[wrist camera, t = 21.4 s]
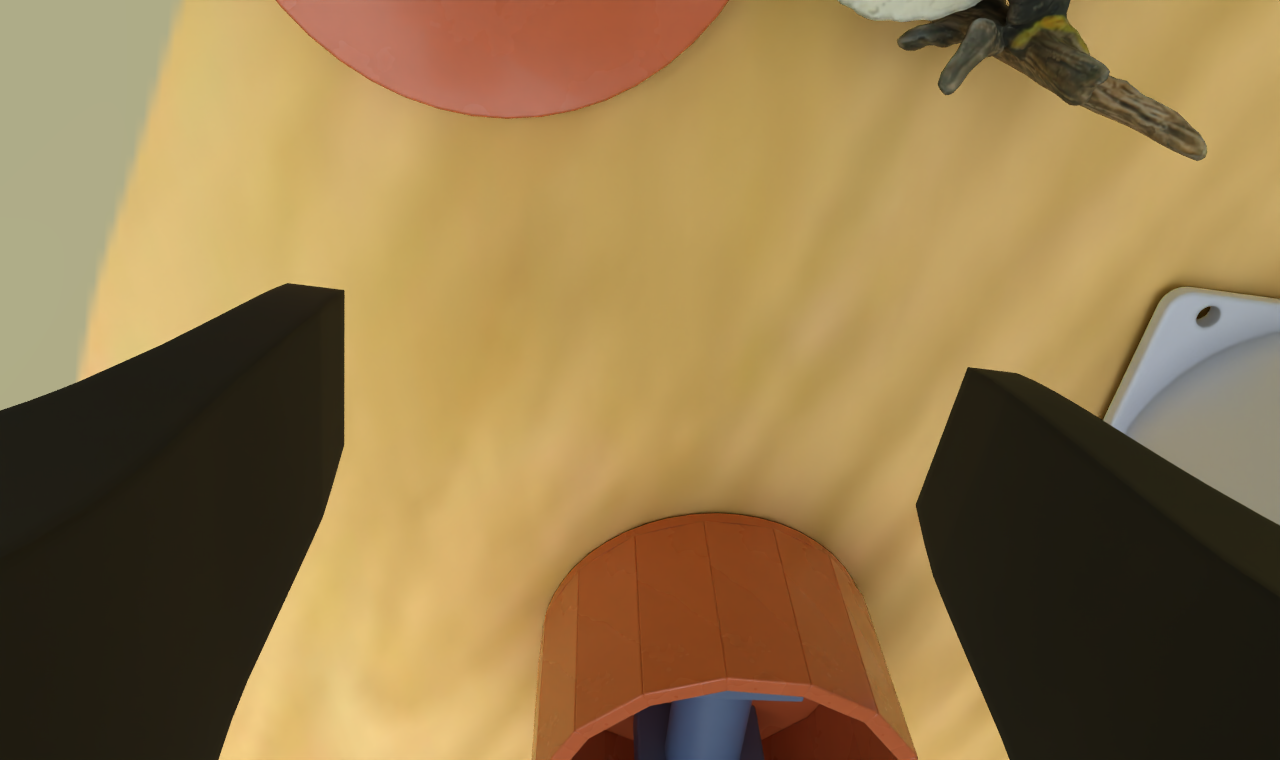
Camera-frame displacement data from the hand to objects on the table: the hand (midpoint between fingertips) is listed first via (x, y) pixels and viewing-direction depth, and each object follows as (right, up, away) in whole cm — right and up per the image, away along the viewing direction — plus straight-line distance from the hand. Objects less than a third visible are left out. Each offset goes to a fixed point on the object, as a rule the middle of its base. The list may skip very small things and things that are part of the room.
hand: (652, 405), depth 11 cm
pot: (+2, -7, +15) cm, 17 cm away
